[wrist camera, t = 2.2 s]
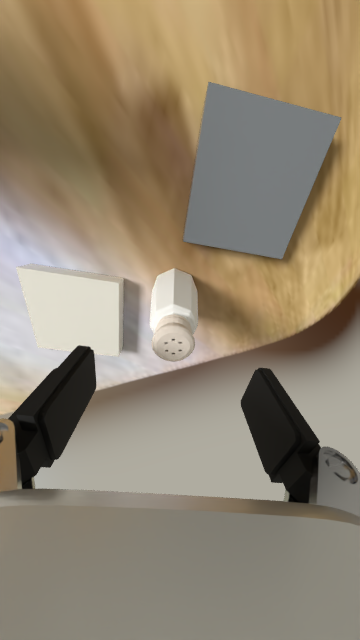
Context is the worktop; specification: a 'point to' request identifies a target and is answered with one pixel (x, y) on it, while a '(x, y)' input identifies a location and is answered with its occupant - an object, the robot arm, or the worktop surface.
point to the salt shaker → (174, 315)
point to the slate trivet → (253, 170)
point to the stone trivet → (74, 308)
